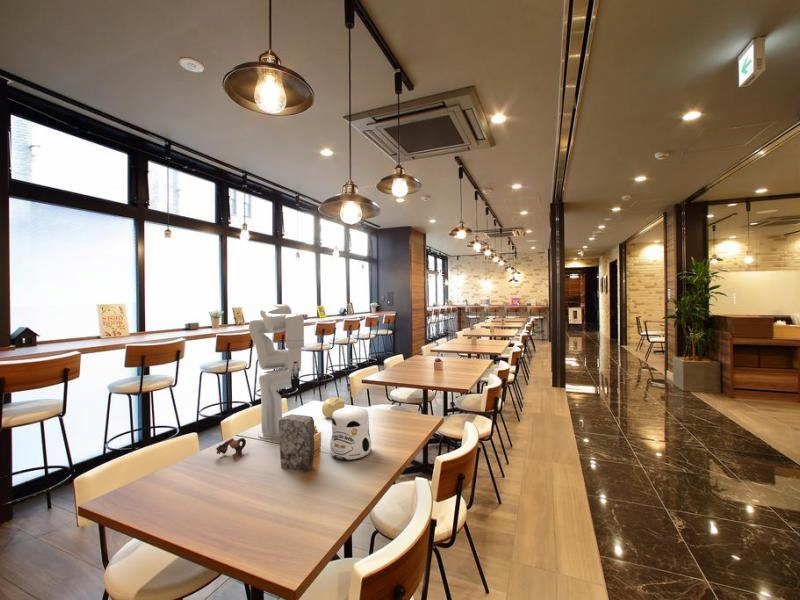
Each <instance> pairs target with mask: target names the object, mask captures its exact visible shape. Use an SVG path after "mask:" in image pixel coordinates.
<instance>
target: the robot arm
mask: <svg viewBox="0 0 800 600" xmlns="http://www.w3.org/2000/svg"><path fill="white" fill-rule="evenodd" d="M304 319H305V318H304V316H303V315H302V314H297V313H292V309H291V307H290V306H289V305H288V304H284V303H282V304H279V303H278V304H275V303H274V304H266V305H264V306H262V308H261V310H260V317H255V318H253V319H250V321H249V324H248V331H249V335H250V337H251V339H252V341H253V343H254V346H255V350H256V355H257V360H258V365H259V368H260V369H261V370H263V371H264V372H262V373H261V374H260V375H259V377H258V383H259V389H260V400H261V401H260V402H261V405H260V407H261V409H260V410H261V411H260V413H261V431H259V432H258V435H257V436H258V438H259V439H261V440H272V439H279V419H280V418H281V417H283V407H282V406H283V403H282V402H283V399H282V396H281V395H280V393H279V392H277V391H278V390H283V389H288V388H289V389H290V388H291V389H292V390H295V389H297V390H298V389H300V388H301V387H300V384H301V383H300V379H301V378H300V372H301V369H302V349H303V348H305V320H304ZM282 332H285V333H284V335H285V349H275V346H274V342H273V340H272V339H271V338H270V337H269V336H267V335H266V334H275V333H276V334H277V333H282Z"/></svg>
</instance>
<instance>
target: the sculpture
mask: <svg viewBox="0 0 800 600" xmlns="http://www.w3.org/2000/svg"><path fill="white" fill-rule="evenodd" d="M345 404H346V403H345V401H344V400H343V399H342V398H339V397H336V396H333V397H330V398H327V399H326V400H325V401H324V402H323V404H322V407H321V412H322V415H323V416H324V417H325V418H327V419H332V415H333V412H334V411H336V410H338V409H342V408H345V407H346V406H345Z"/></svg>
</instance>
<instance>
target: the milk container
mask: <svg viewBox="0 0 800 600" xmlns="http://www.w3.org/2000/svg"><path fill="white" fill-rule="evenodd" d="M369 418H370V417H369V411H368V409H366V408H363V407H357V406H353V407H351V406H347V407H344V408H342V409H338V410H336V411H334V412H333V415H332V418H331V422H332V423H331V437H330V443H329V449H330V453H331V455H332V456H333V458H335V459H337V460H340V461H347V462H348V461H349V462H350V461H351V462H352V461H357V460H360V459H363V458H364V457H366V456H368V455H369V453H370V452H371V449H372V438H371V436H370V420H369Z"/></svg>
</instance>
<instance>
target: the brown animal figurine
mask: <svg viewBox="0 0 800 600" xmlns="http://www.w3.org/2000/svg"><path fill="white" fill-rule="evenodd" d="M246 444H247V440H246V439H245V438H244V437H241V438H238V439H237V440H235V439H234V438H233V437H232V438H231V437H230V439H228V440H227V441H225V442H223V443H222V444H219V445H218V446H217V447H216V448H215V449H216V455H217V454H218V455H221V453H222V455H225V454H227V451H228V447H229V446H230V448H231V449H233V450H235V452H234V453H233V454H232V458H233V460H237V459H239V458H240V457H242V456H243V449H244V448H245V447H246Z"/></svg>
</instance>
